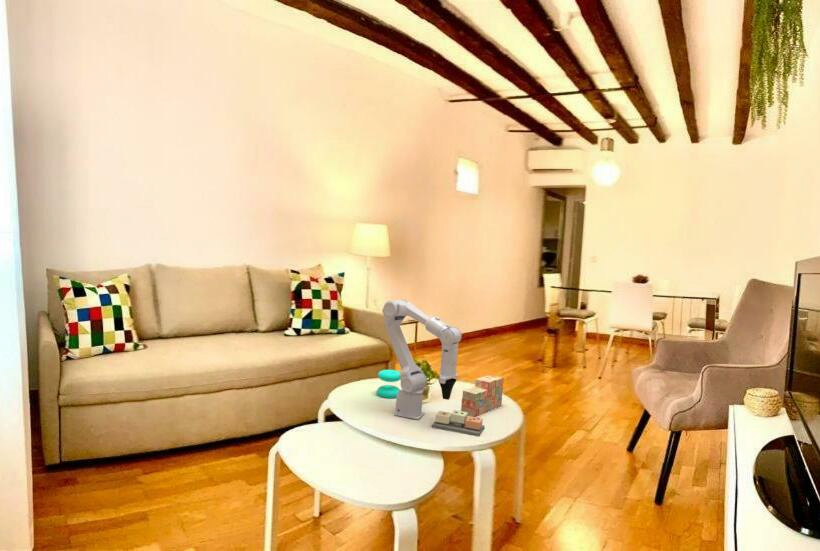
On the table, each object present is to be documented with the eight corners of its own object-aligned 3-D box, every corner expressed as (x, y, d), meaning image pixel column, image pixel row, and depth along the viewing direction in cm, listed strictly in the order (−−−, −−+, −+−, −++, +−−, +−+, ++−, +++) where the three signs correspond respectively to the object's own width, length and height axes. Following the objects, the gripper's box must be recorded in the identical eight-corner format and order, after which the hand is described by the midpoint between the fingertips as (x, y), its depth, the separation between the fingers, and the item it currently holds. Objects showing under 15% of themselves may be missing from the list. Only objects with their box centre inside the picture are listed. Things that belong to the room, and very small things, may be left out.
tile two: (450, 420, 180) (450, 413, 180) (453, 416, 185) (454, 409, 185) (464, 423, 178) (464, 415, 178) (467, 419, 183) (467, 411, 183)
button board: (431, 427, 180) (432, 419, 180) (438, 419, 189) (439, 411, 189) (479, 436, 175) (479, 427, 175) (484, 428, 183) (484, 420, 183)
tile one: (435, 421, 182) (435, 414, 182) (438, 417, 187) (439, 410, 186) (448, 424, 180) (449, 416, 180) (452, 419, 185) (452, 412, 185)
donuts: (385, 367, 221) (406, 371, 217) (383, 390, 222) (404, 394, 218) (373, 372, 212) (395, 376, 208) (372, 395, 213) (393, 400, 209)
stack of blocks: (474, 418, 194) (476, 386, 193) (460, 413, 198) (462, 382, 197) (501, 406, 211) (503, 377, 210) (488, 403, 215) (490, 374, 214)
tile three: (465, 427, 178) (465, 419, 178) (468, 422, 183) (468, 415, 183) (479, 429, 177) (479, 422, 176) (482, 425, 181) (482, 418, 181)
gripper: (454, 367, 174) (451, 406, 175) (464, 359, 188) (461, 395, 189) (434, 364, 177) (431, 402, 178) (446, 356, 190) (443, 392, 191)
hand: (446, 398), depth 183 cm, fingers closed
